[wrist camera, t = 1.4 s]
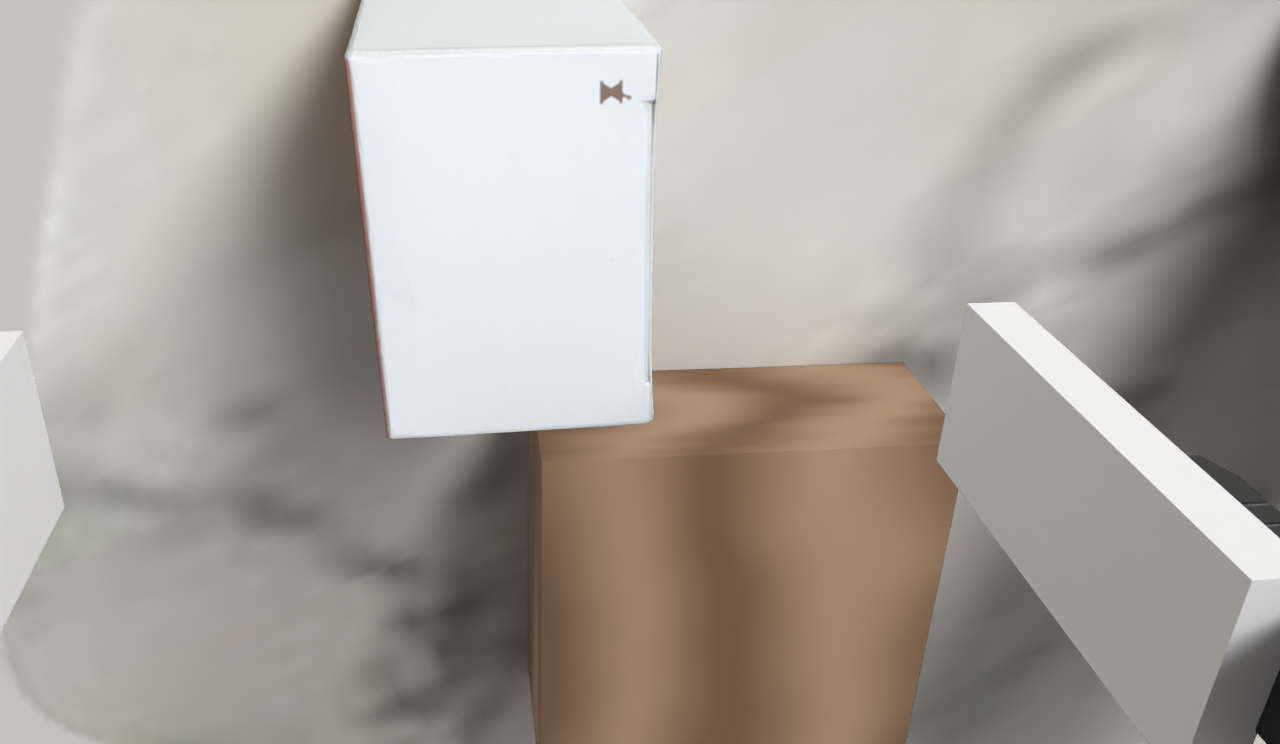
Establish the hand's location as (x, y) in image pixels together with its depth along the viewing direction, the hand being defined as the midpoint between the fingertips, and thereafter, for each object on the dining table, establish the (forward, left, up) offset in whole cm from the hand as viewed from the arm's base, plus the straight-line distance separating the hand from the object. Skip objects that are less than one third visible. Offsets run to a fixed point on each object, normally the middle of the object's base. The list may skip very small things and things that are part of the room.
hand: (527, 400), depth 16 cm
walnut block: (-7, +14, -16) cm, 23 cm away
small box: (0, 0, -16) cm, 16 cm away
